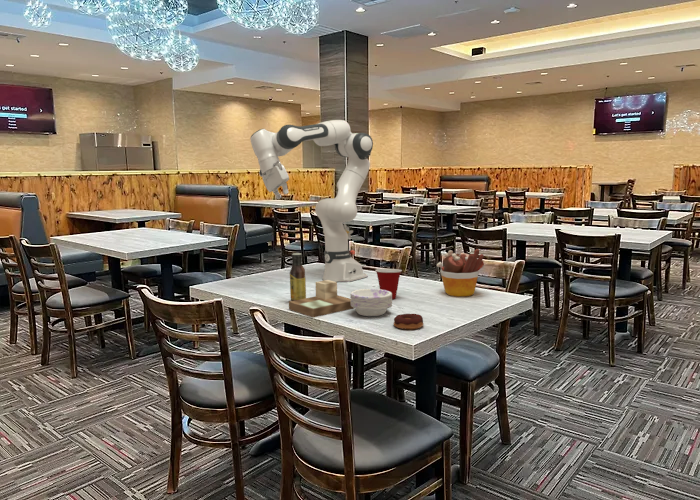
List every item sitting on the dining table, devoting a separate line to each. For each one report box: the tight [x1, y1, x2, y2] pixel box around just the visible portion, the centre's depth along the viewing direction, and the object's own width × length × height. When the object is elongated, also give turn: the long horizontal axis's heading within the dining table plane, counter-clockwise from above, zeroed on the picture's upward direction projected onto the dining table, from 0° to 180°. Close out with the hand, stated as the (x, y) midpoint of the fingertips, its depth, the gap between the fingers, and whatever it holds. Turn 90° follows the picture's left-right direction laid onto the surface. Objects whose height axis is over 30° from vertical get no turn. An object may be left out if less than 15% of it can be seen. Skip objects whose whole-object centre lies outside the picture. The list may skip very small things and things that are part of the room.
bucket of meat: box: [436, 248, 485, 298], centre depth 222 cm, size 20×16×20 cm
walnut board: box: [288, 294, 355, 319], centre depth 204 cm, size 20×16×3 cm
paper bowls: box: [349, 288, 393, 317], centre depth 196 cm, size 15×15×8 cm
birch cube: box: [314, 280, 338, 300], centre depth 210 cm, size 6×6×6 cm
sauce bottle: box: [289, 252, 307, 301], centre depth 214 cm, size 7×6×20 cm
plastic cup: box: [374, 268, 403, 300], centre depth 219 cm, size 11×11×12 cm
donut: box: [393, 313, 424, 331], centre depth 179 cm, size 10×10×4 cm
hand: (283, 196), depth 232 cm, fingers open, 8 cm apart
